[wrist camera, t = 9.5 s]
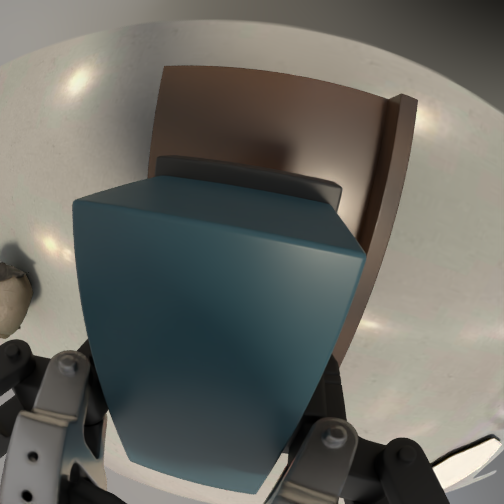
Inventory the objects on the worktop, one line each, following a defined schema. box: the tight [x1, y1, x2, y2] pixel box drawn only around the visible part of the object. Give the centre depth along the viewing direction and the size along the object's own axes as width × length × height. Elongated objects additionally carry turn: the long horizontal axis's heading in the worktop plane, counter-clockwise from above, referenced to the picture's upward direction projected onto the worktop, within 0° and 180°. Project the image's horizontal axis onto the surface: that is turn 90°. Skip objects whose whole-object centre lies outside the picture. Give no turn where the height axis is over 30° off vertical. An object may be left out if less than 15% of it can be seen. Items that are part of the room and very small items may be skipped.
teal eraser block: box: [72, 155, 366, 494], centre depth 8 cm, size 12×5×5 cm, turn 171°
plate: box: [432, 438, 502, 489], centre depth 35 cm, size 28×28×2 cm
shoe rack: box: [147, 66, 418, 367], centre depth 19 cm, size 22×14×8 cm, turn 171°
